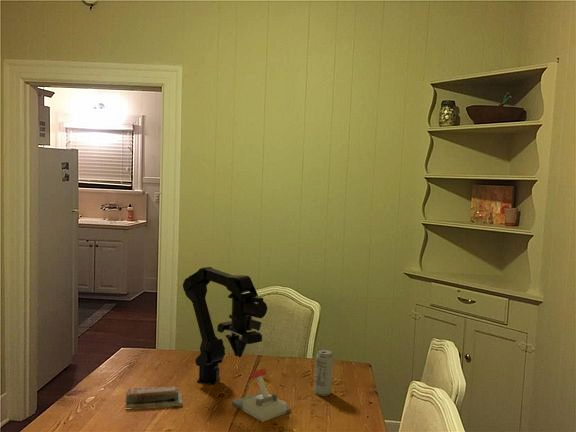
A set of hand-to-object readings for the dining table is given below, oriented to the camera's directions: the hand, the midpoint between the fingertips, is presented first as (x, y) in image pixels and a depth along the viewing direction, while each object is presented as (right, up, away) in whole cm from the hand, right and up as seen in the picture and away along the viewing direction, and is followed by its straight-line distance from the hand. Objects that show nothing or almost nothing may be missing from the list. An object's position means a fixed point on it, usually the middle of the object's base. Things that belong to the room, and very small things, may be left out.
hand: (238, 356), depth 184 cm
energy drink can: (+30, -14, +4) cm, 33 cm away
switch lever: (+10, -10, -14) cm, 20 cm away
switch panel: (+8, -14, -10) cm, 20 cm away
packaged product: (-27, -13, -9) cm, 32 cm away
